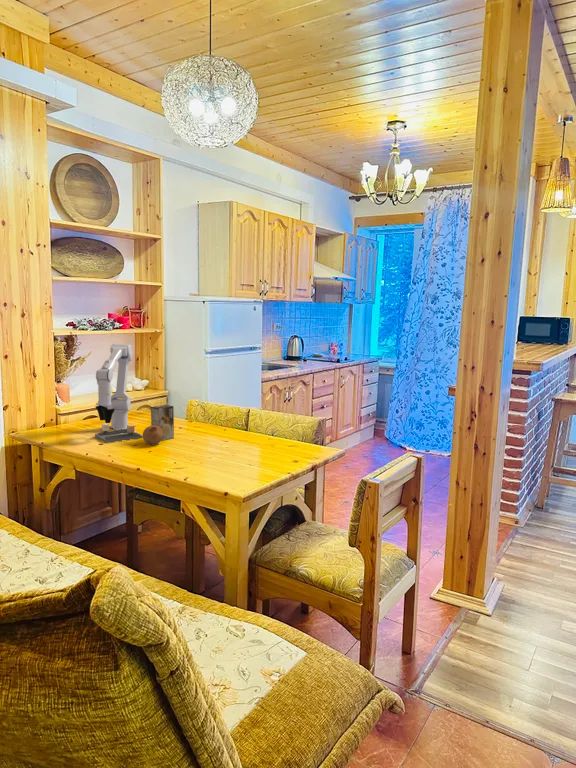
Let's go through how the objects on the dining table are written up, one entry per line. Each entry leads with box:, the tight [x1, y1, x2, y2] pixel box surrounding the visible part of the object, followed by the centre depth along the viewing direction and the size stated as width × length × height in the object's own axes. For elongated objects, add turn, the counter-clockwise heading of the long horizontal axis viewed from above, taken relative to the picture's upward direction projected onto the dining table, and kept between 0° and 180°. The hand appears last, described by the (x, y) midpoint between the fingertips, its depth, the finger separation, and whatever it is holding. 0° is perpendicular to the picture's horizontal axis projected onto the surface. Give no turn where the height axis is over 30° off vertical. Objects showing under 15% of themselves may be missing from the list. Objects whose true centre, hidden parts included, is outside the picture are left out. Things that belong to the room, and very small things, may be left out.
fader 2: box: [127, 424, 135, 435], centre depth 258 cm, size 3×2×5 cm
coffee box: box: [150, 404, 175, 441], centre depth 260 cm, size 9×6×16 cm
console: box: [94, 429, 143, 444], centre depth 260 cm, size 15×18×3 cm
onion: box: [142, 425, 163, 446], centre depth 250 cm, size 10×9×10 cm
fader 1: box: [101, 423, 110, 434], centre depth 260 cm, size 3×2×5 cm
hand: (105, 421), depth 260 cm, fingers open, 7 cm apart
